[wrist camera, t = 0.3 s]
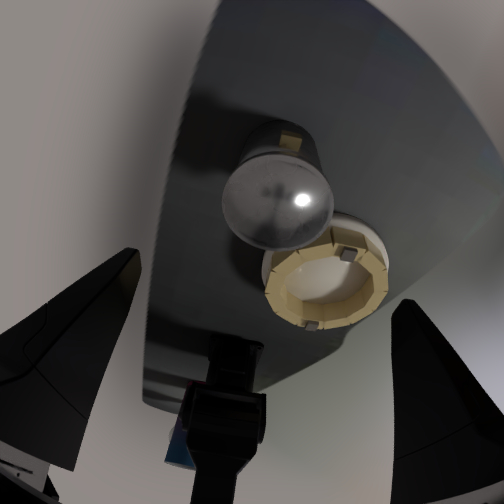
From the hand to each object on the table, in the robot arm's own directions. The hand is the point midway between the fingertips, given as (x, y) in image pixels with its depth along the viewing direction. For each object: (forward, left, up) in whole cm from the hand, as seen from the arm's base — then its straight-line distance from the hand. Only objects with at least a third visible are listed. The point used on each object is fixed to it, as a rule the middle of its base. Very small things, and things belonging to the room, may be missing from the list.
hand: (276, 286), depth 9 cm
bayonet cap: (-1, 0, -13) cm, 13 cm away
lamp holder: (-10, -6, -13) cm, 17 cm away
